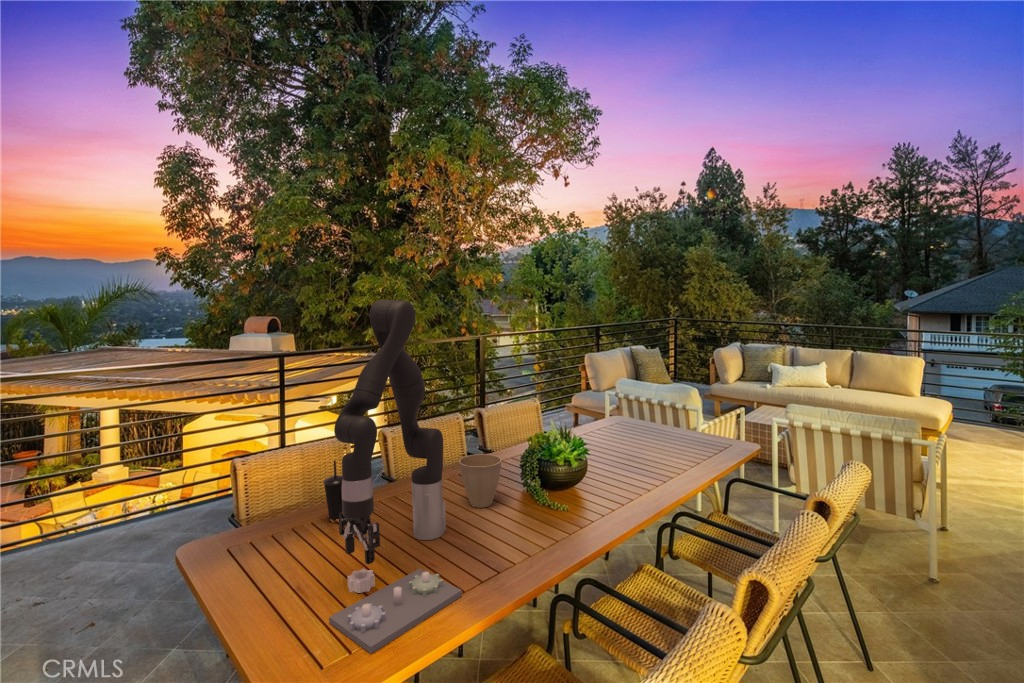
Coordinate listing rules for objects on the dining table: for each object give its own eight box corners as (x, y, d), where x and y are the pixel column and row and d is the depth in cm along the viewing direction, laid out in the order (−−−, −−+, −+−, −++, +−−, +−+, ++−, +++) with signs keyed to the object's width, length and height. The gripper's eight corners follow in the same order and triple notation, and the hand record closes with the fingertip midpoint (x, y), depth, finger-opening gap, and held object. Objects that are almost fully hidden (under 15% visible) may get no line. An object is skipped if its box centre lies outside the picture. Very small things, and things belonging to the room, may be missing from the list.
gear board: (419, 574, 134) (418, 556, 134) (461, 596, 124) (461, 576, 123) (329, 623, 114) (328, 602, 114) (371, 654, 104) (370, 630, 103)
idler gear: (365, 577, 133) (364, 566, 133) (379, 585, 129) (379, 574, 129) (342, 588, 128) (342, 576, 128) (357, 597, 124) (357, 585, 124)
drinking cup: (352, 514, 172) (349, 457, 171) (345, 524, 165) (342, 464, 163) (329, 515, 172) (326, 457, 171) (321, 525, 165) (318, 465, 163)
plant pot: (508, 508, 176) (507, 463, 174) (467, 515, 170) (466, 469, 169) (494, 493, 189) (493, 451, 188) (455, 499, 184) (454, 456, 183)
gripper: (387, 496, 125) (389, 560, 126) (354, 484, 134) (356, 544, 135) (361, 506, 119) (363, 573, 120) (328, 492, 128) (330, 555, 129)
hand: (359, 557), depth 128 cm, fingers open, 8 cm apart
